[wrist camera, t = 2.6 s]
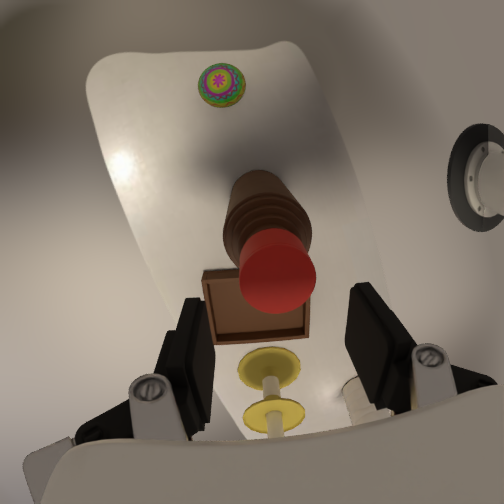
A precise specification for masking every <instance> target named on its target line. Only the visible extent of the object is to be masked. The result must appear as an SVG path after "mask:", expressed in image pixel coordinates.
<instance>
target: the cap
mask: <svg viewBox="0 0 504 504" xmlns="http://www.w3.org/2000/svg"><path fill="white" fill-rule="evenodd" d="M315 283H316V272H315V268H314V265H313V263H312V261H311V259H310V257H309V255H308V253H307V251H306V249H305V247H304V245H303V244H302V242H301V241H300V239H299V238H298V237H297V236H295V235H294V234H293V233H291V232H289V231H286V230H283V229H277V228H271V229H266V230H262V231H260V232H258V233H256V234H254V235H253V236H251V237H250V238H249V239H248V240H247V242H246V243H245V244H244V246H243V248H242V250H241V254H240V266H239V286H240V290H241V293H242V295H243V297H244V298H245V300H246V301H247V302H248V303H249V304H250V305H251V306H252V307H254V308H256V309H257V310H260V311H262V312H265V313H271V314H280V313H286V312H289V311H292V310H294V309H296V308H298V307H299V306H301V305H302V304H303V303H305V302H306V300H307V299H308V298H309V297H310V295H311V294H312V292H313V290H314V287H315Z"/></svg>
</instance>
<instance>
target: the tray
mask: <svg viewBox="0 0 504 504" xmlns="http://www.w3.org/2000/svg"><path fill="white" fill-rule="evenodd" d="M201 282H202V288H203V294H204V299H205V302H206V307H207V312H208V318H209V323H210V329H211V334H212V339H213V344H214V345H228V344H245V343H259V342H271V341H282V340H293V339H302V338H309V325H310V297H309V298H308V299H307V300H306V302H305V303H303V304H302V305H301V306H299V307H298V308H296V309H294V310H292V311H289V312H286V313H280V314H271V313H265V312H262V311H260V310H257V309H256V308H254V307H252V306H251V305H250V304H249V303H248V302H247V301H246V300H245V298H244V297H243V295H242V293H241V290H240V286H239V269H234V270H220V271H206V272H203V276H202V280H201Z"/></svg>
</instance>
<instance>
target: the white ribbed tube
mask: <svg viewBox="0 0 504 504" xmlns="http://www.w3.org/2000/svg"><path fill="white" fill-rule="evenodd" d="M342 394H343V398H344V401H345V403H346V407H347V410H348V412H349V416H350V419H351V422H352V425H353V426H354V425H359V424H363V423H367V422H372V421H376V420H380V419H384V418H387V417H391V415H390V413H389V410H388V409H387V408H385V409H381V410H376V407H375V405H374V404H371V403H370V402H369V400H368V398H367V395H366V393H365V390H364V388H363V386H362V383H361V381H360V379H359V377H357V378H354V379H352V380H350V381H349V382H348V383H347V384H346V385H345V386H344V388H343V392H342Z"/></svg>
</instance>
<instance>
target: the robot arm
mask: <svg viewBox="0 0 504 504" xmlns="http://www.w3.org/2000/svg"><path fill="white" fill-rule="evenodd" d="M464 187H465V194H466V197H467V201H468V203H469V205H470V207H471V208H472V209H473V211H474V212H476V213H477V214H479V215H481V216H483V217H492V216H495V215H496V214H500V215H502V216H504V149H503V148H502V147H501V146H500V145H498V144H497V143H494V142H489V141H486V142H482V143H480V144H478V145H477V146H476V147H475V148H474V149H473V150H472V152H471V154H470V156H469V158H468V161H467V164H466V168H465V175H464ZM345 346H346V349H347V351H348V353H349V355H350V358H351V360H352V362H353V365H354V367H355V369H356V372H357V374H358V376H359V379H360V381H361V383H362V386H363V388H364V390H365V393H366V395H367V398H368V400H369V402H370V403H371V404H374V405H375V407H376V410H381V409H385V408H387V409H390V410H391V417H387V418H384V419H380V420H376V421H372V422H367V423H363V424H359V425H354V426H350V427H345V428H340V429H334V430H329V431H323V432H317V433H310V434H303V435H296V436H287V437H278V438H268V439H255V440H238V441H193V438H192V436H193V435H194V434H195V433H197V432H198V431H204V429H205V423H210V416H211V404H212V392H213V381H214V370H215V350H214V344H213V339H212V334H211V329H210V323H209V318H208V312H207V307H206V302H205V301H201V300H200V298H199V297H197V298H186V299H185V301H184V305H183V308H182V311H181V314H180V318H179V321H178V324H177V328H176V330H169V331H167V333H166V336H165V339H164V342H163V345H162V348H161V351H160V354H159V357H158V361H157V364H156V367H155V370H154V373H153V374H146V375H143V376H140V377H139V378H137V379H135V380H134V381H133V382H132V383H131V385H130V387H129V399H128V400H126V401H124V402H123V403H121V404H119V405H117V406H115V407H114V408H112V409H110V410H108V411H106V412H105V413H103V414H101V415H99V416H97V417H95V418H93V419H92V420H90V421H88V422H86V423H85V424H83V425H81V426H80V428H79V429H78V430H77V432H76V435H75V438H72V439H71V438H70V437H66V438H64V439H62V440H60V441H58V442H55V443H53V444H51V445H49V446H46V447H44V448H42V449H39V450H37V451H34V452H32V453H30V454H29V455H27V456H26V458H25V459H24V462H23V471H24V475H25V478H26V481H27V484H28V487H29V490H30V493H31V496H32V498H33V501H34V504H504V385H498V384H497V383H496V382H495V380H494V379H492V378H491V377H489V376H487V375H483V374H480V373H477V372H473V371H470V370H467V369H464V368H460V367H457V366H454V365H451V364H450V362H449V358H448V355H447V353H446V352H445V351H444V350H443V349H442V348H441V347H439V346H437V345H434V344H429V343H425V344H420V345H417V344H416V342H415V341H414V340H413V339H412V337H411V335H410V334H409V333H408V332H407V330H406V328H405V327H404V326H403V324H402V323H401V322H400V320H399V319H398V318H397V316H396V315H395V314H394V312H393V311H392V310H390V309H389V307H388V306H387V305H386V303H385V302H384V301H383V299H382V298H381V297H380V295H379V294H378V293H377V292H376V290H375V289H374V288H373V286H372V285H371V284H370V283H369V282H363V283H356V284H355V285H354V287H352V288H351V289H350V298H349V307H348V316H347V325H346V333H345Z"/></svg>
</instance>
